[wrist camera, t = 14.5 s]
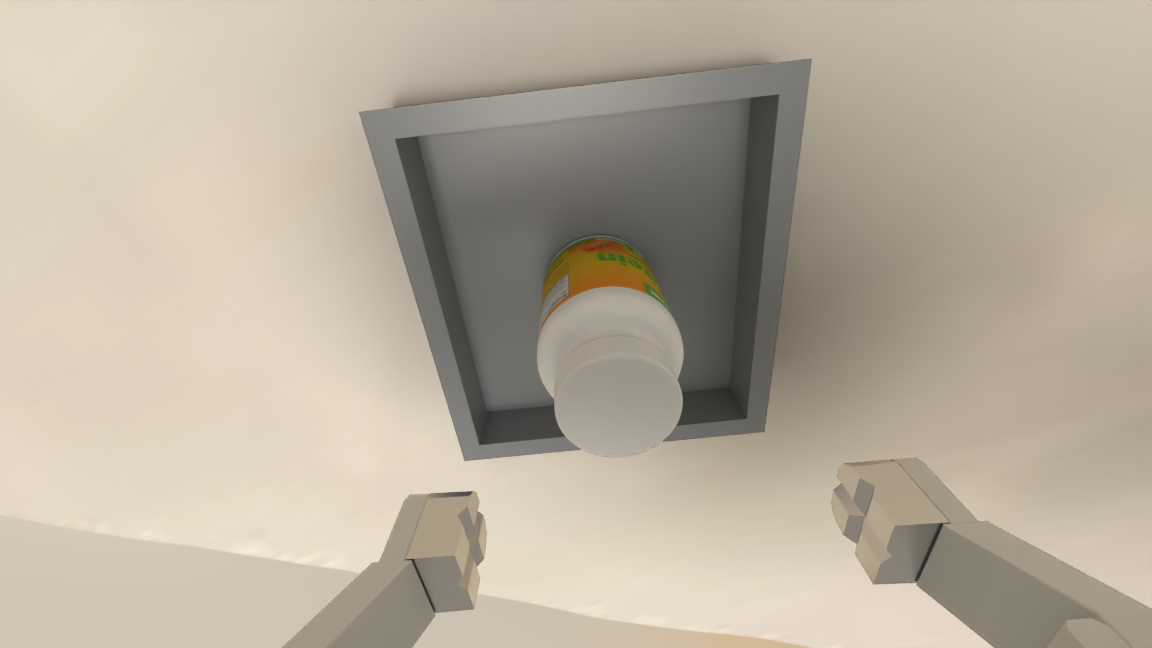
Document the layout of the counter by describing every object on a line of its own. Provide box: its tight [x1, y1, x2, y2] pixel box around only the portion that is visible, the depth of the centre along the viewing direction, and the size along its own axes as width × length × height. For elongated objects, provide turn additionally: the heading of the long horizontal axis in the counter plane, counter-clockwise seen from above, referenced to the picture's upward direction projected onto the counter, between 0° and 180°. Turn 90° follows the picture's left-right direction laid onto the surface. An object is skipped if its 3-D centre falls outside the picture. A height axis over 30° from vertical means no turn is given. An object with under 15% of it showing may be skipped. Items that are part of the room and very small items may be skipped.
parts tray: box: [359, 59, 812, 461], centre depth 21 cm, size 16×17×4 cm
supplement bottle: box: [537, 235, 684, 457], centre depth 18 cm, size 5×5×10 cm
